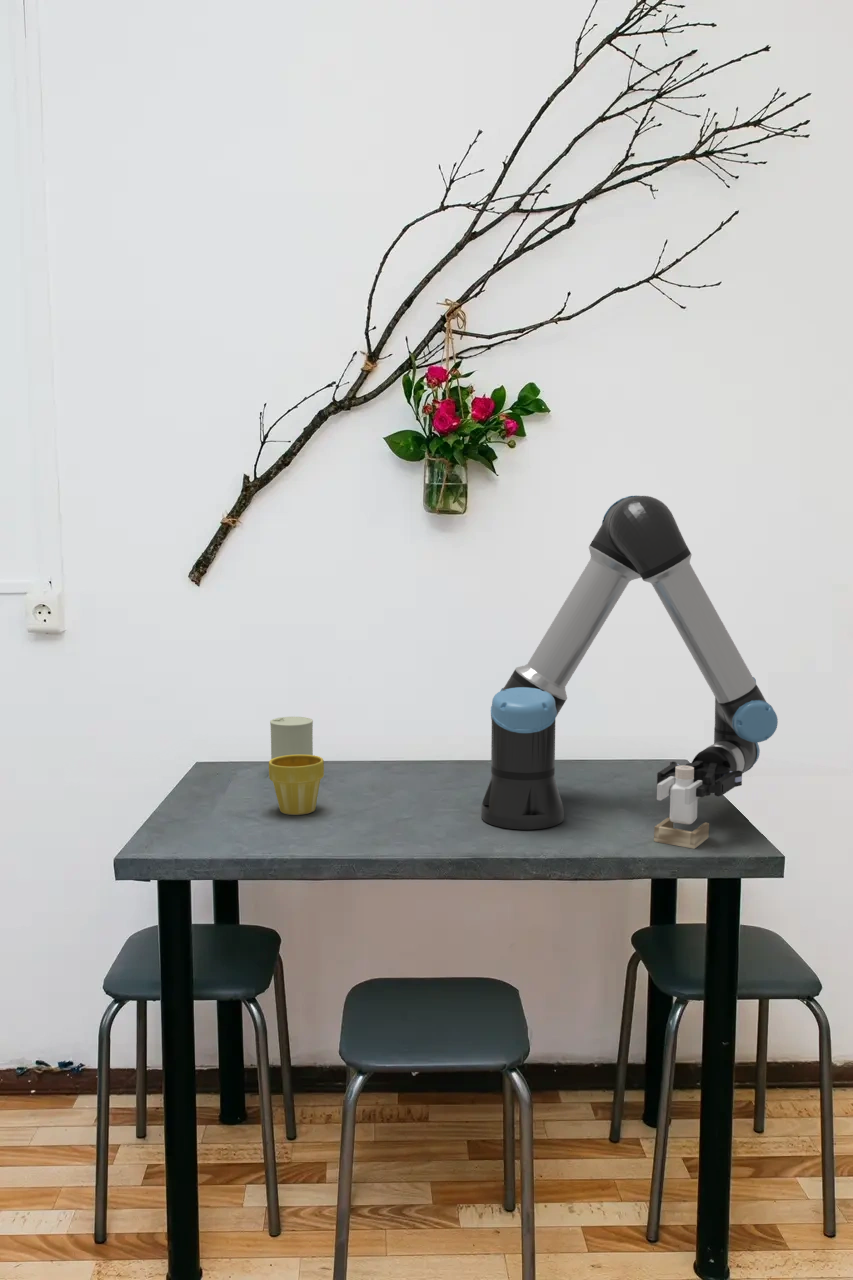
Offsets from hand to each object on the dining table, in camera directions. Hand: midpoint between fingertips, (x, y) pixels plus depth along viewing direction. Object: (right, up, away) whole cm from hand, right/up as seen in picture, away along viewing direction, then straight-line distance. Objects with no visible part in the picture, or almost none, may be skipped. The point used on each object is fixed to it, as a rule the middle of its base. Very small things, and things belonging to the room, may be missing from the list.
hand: (673, 794), depth 179 cm
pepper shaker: (+3, -6, +5) cm, 8 cm away
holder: (+3, -9, +6) cm, 11 cm away
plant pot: (-66, -7, +23) cm, 70 cm away
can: (-70, -3, +51) cm, 87 cm away
